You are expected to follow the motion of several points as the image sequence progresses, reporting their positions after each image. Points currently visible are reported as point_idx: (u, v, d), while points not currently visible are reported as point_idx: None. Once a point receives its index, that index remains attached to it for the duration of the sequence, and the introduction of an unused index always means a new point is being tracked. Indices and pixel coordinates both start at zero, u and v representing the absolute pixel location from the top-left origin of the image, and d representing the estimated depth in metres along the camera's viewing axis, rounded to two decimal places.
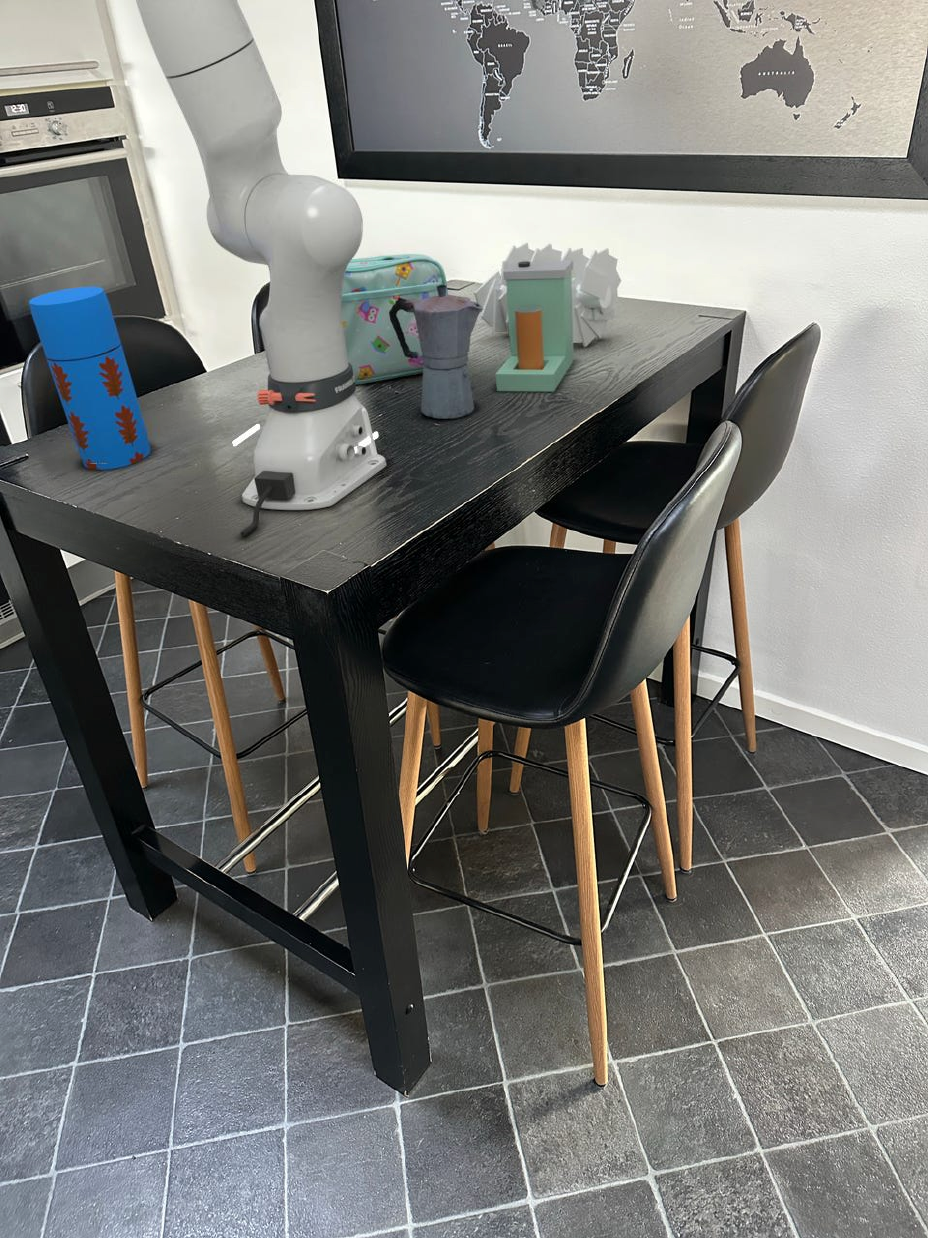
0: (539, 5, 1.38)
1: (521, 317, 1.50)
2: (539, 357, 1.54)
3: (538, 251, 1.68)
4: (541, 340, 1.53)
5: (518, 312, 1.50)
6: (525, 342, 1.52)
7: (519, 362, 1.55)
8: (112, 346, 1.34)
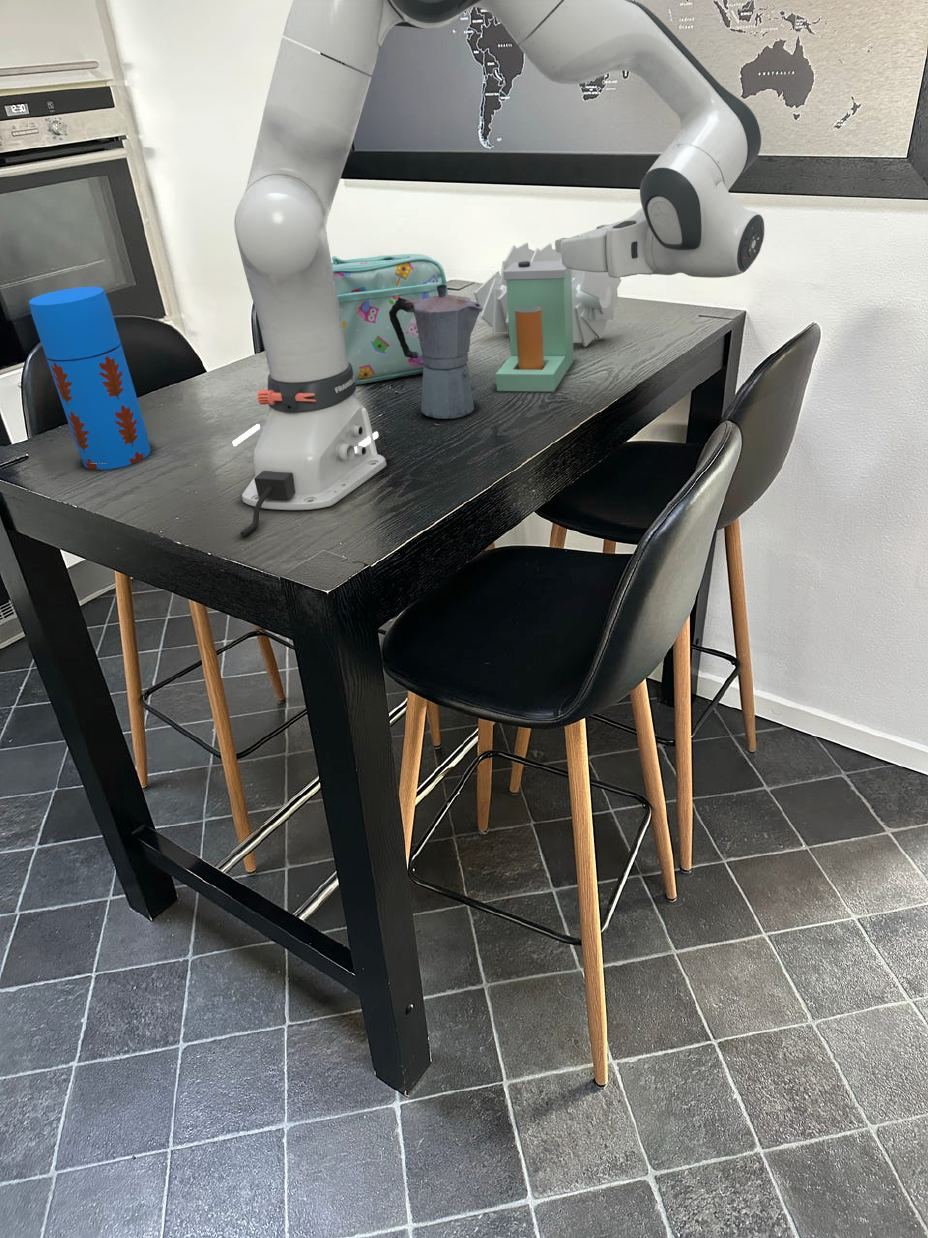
0: (598, 227, 1.39)
1: (521, 317, 1.50)
2: (539, 357, 1.54)
3: (538, 251, 1.68)
4: (541, 340, 1.53)
5: (518, 312, 1.50)
6: (525, 342, 1.52)
7: (519, 362, 1.55)
8: (112, 346, 1.34)
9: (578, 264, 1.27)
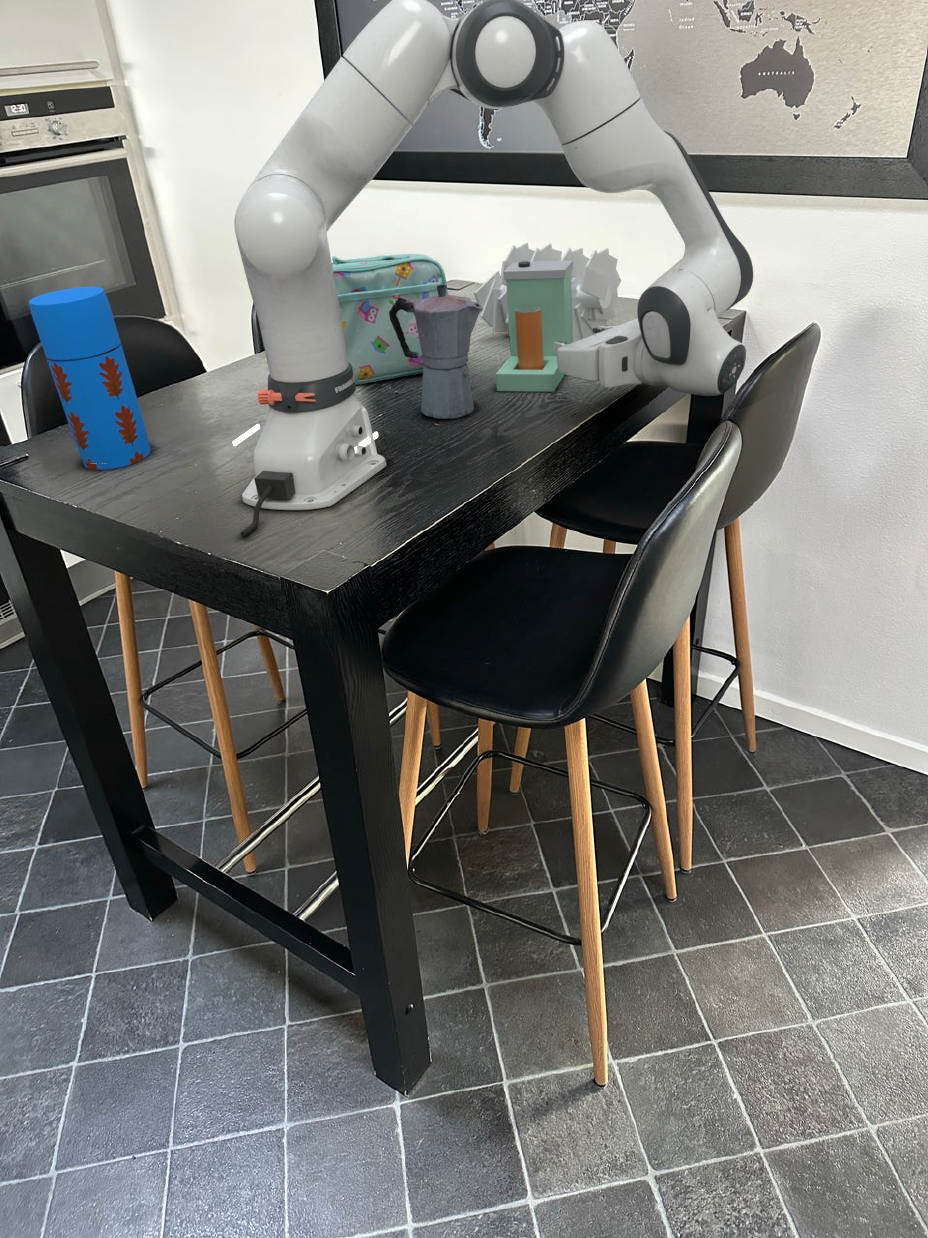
0: (594, 329, 1.48)
1: (521, 317, 1.50)
2: (539, 357, 1.54)
3: (538, 251, 1.68)
4: (541, 340, 1.53)
5: (518, 312, 1.50)
6: (525, 342, 1.52)
7: (519, 362, 1.55)
8: (112, 346, 1.34)
9: (572, 372, 1.36)
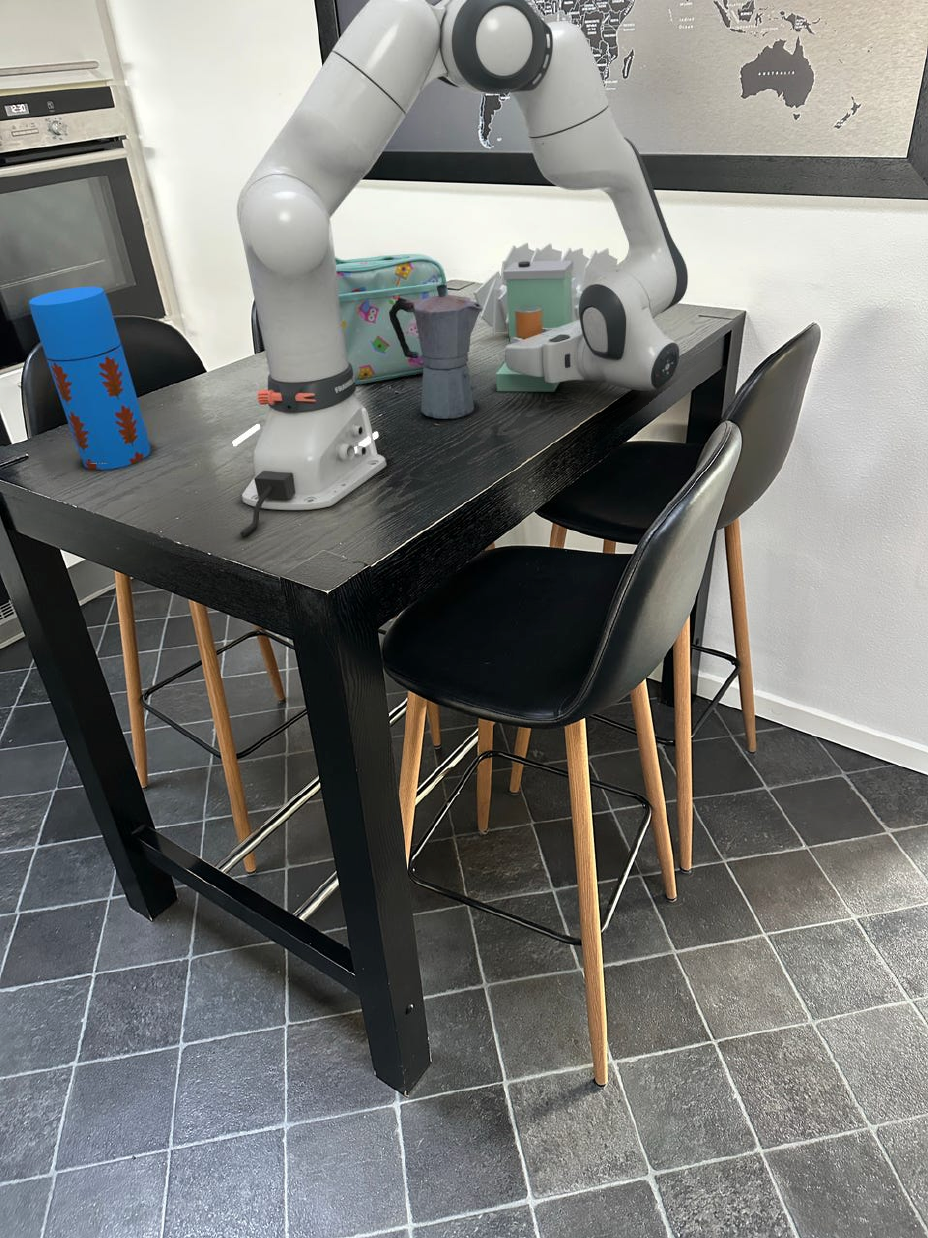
0: None
1: (521, 317, 1.50)
2: None
3: (538, 251, 1.68)
4: None
5: (518, 312, 1.50)
6: None
7: None
8: (112, 346, 1.34)
9: (519, 368, 1.45)
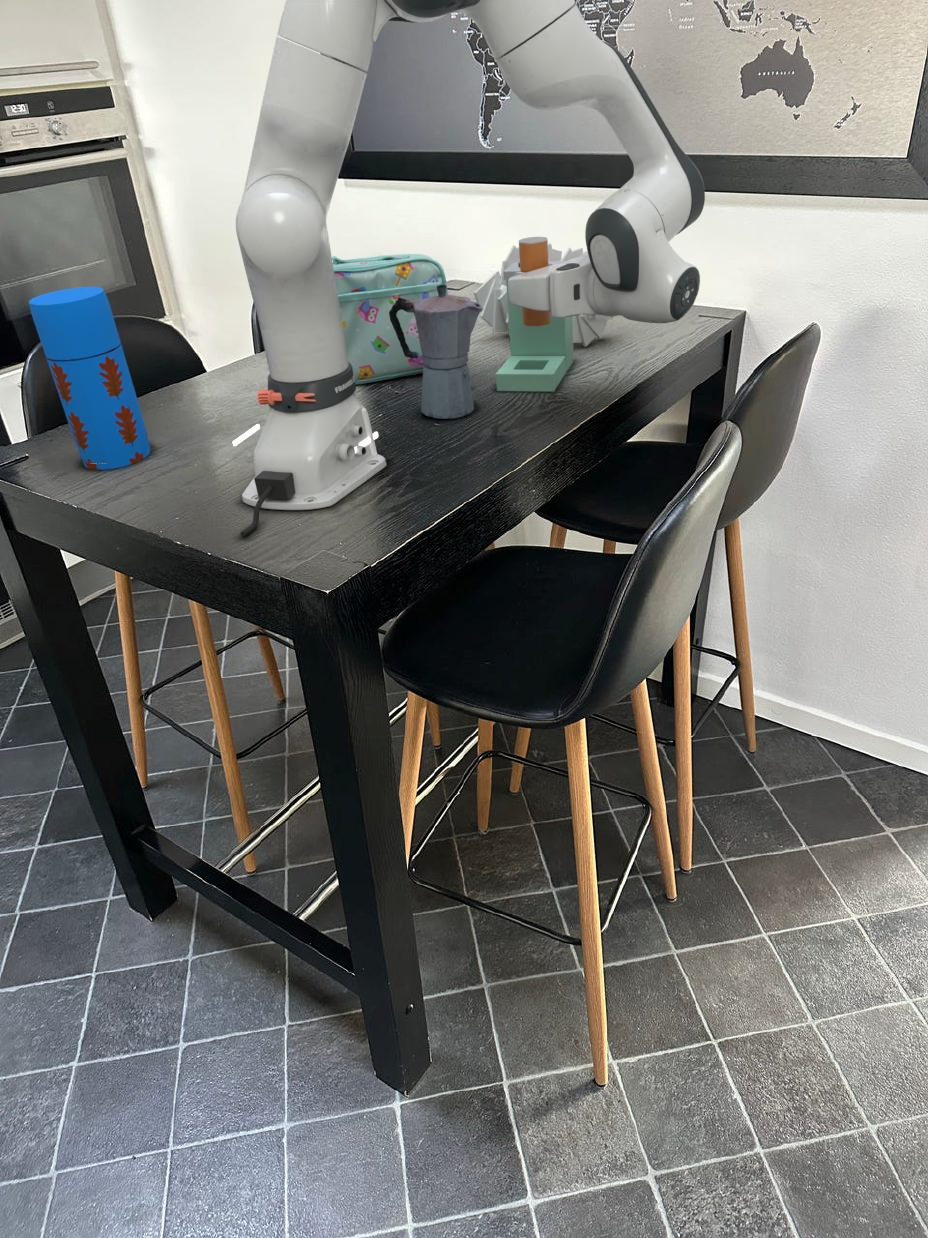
0: None
1: (525, 248, 1.38)
2: None
3: None
4: None
5: (522, 243, 1.38)
6: None
7: None
8: (112, 346, 1.34)
9: (523, 302, 1.32)
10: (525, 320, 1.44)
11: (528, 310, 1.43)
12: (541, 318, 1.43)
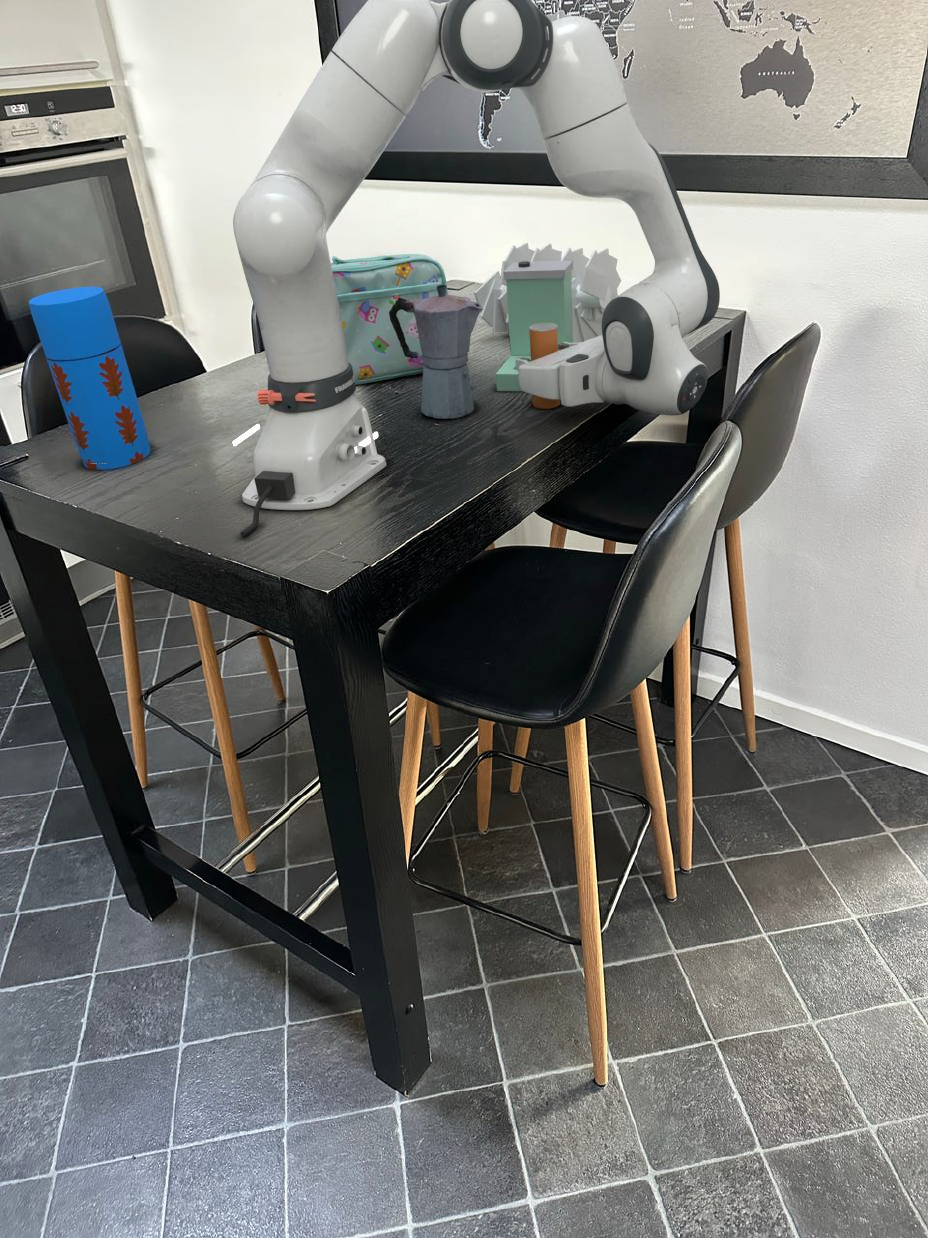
0: (559, 345, 1.46)
1: (536, 336, 1.40)
2: None
3: (538, 251, 1.68)
4: None
5: (533, 331, 1.40)
6: None
7: None
8: (112, 346, 1.34)
9: (533, 390, 1.34)
10: (535, 402, 1.47)
11: None
12: (551, 400, 1.45)
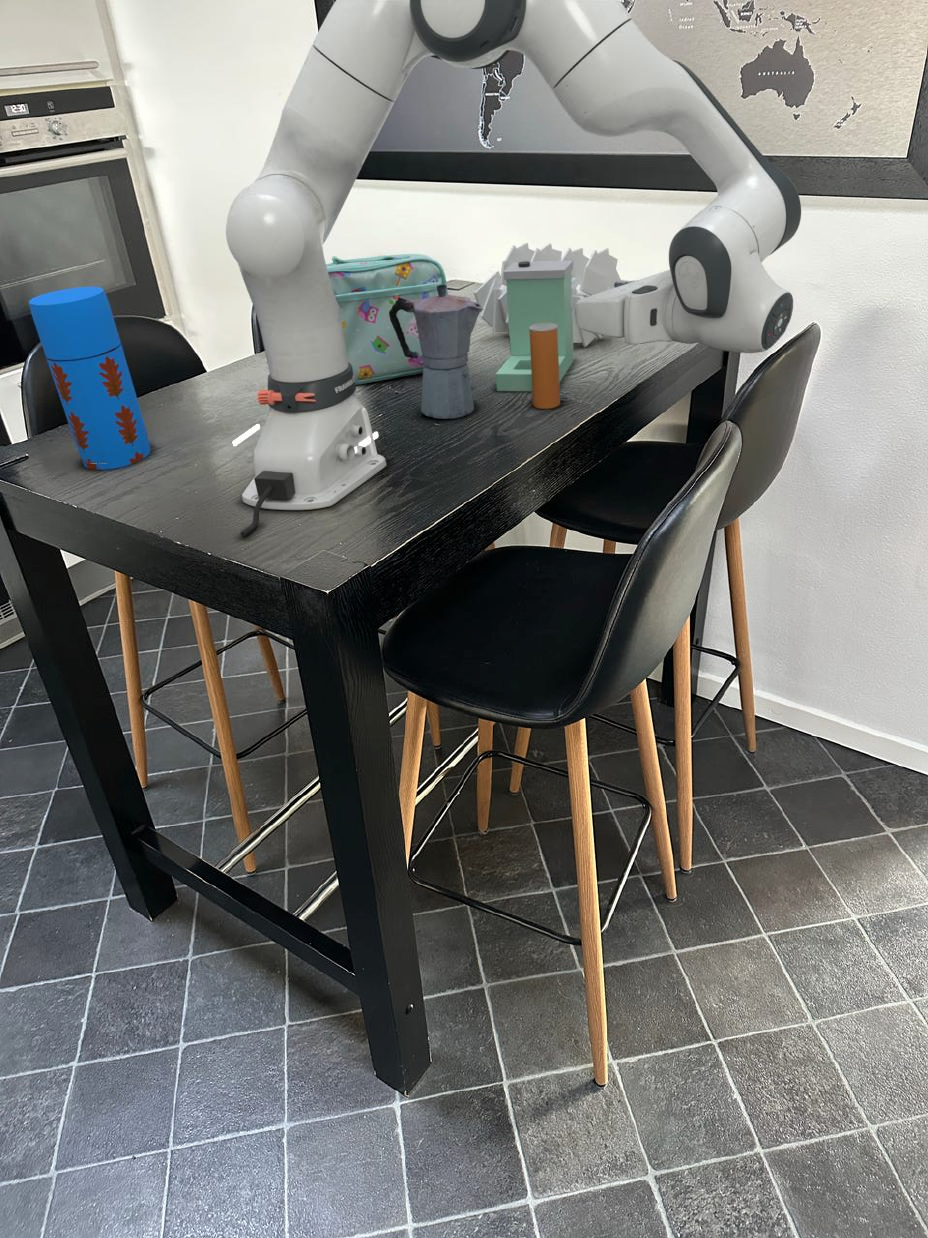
0: (616, 283, 1.32)
1: (536, 336, 1.40)
2: (554, 379, 1.44)
3: (538, 251, 1.68)
4: (557, 360, 1.43)
5: (533, 331, 1.40)
6: (539, 362, 1.42)
7: (533, 383, 1.45)
8: (112, 346, 1.34)
9: (593, 327, 1.21)
10: (535, 402, 1.47)
11: (538, 393, 1.45)
12: (551, 400, 1.45)
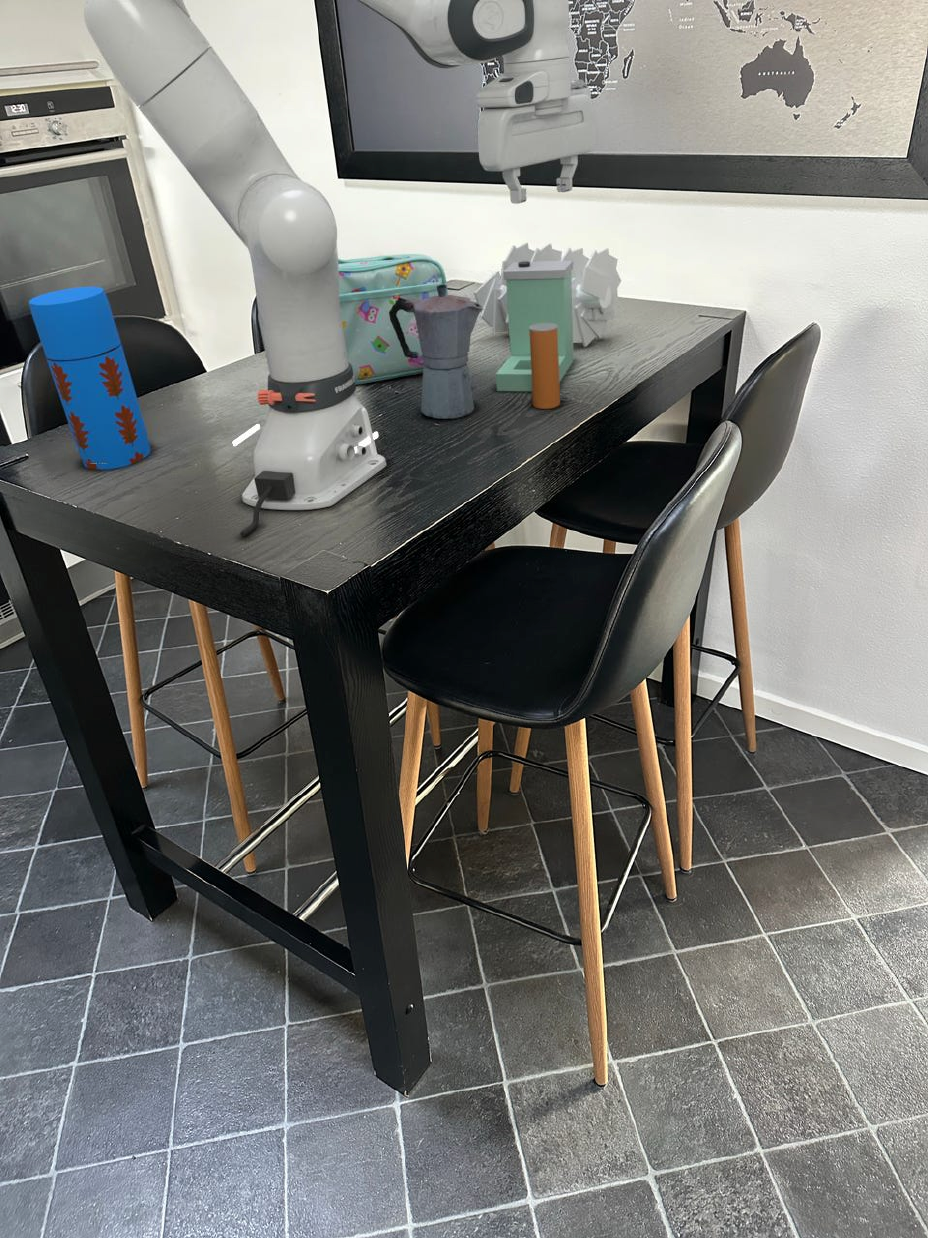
0: (557, 187, 1.32)
1: (536, 336, 1.40)
2: (554, 379, 1.44)
3: (538, 251, 1.68)
4: (557, 360, 1.43)
5: (533, 331, 1.40)
6: (539, 362, 1.42)
7: (533, 383, 1.45)
8: (112, 346, 1.34)
9: (494, 142, 1.20)
10: (535, 402, 1.47)
11: (538, 393, 1.45)
12: (551, 400, 1.45)
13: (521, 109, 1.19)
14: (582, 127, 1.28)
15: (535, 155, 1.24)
